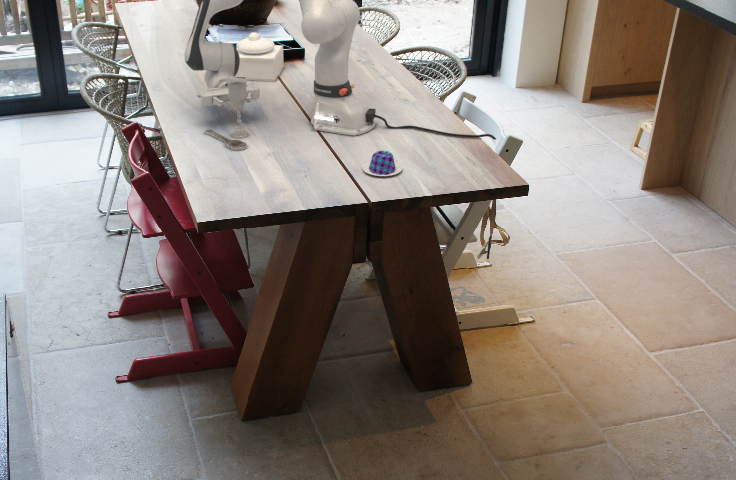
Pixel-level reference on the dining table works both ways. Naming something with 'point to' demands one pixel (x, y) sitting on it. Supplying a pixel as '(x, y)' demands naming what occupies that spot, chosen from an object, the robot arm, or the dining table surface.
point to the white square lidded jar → (259, 58)
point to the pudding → (382, 164)
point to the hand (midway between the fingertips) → (235, 102)
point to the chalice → (238, 101)
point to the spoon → (228, 141)
